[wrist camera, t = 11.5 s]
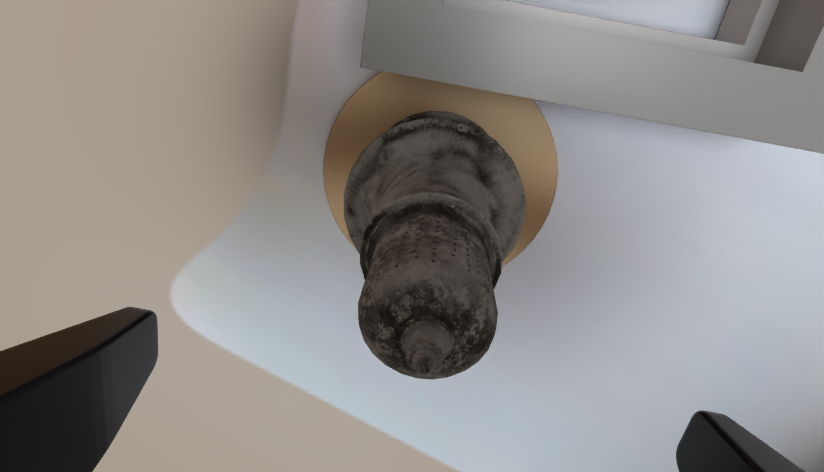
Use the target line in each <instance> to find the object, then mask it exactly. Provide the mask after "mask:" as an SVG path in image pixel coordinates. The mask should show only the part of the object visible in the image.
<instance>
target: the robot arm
mask: <svg viewBox="0 0 824 472" xmlns="http://www.w3.org/2000/svg"><path fill="white" fill-rule="evenodd" d="M157 327H158V326H157V316H156V314H155V313H154V312H153V311H151V310H146V309H140V308H134V307H127V308H124V309H121V310H118V311H115V312H112V313H109V314H107V315H104V316H101V317H98V318H95V319H92V320H89V321H86V322H83V323H81V324H77V325H75V326H72V327H69V328H66V329H63V330H60V331H58V332H54V333H51V334H49V335H46V336H43V337H40V338H37V339H34V340H32V341H28V342H25V343H23V344H20V345H17V346H14V347H11V348H8V349H5V350H3V351H0V472H92V471H93V470H94V468H95V467H96V465H97V464H98V463H99V461H100V460H101V458H102V457H103V455H104V454H105V452H106V451H107V449H108V448H109V446H110V444H111V443H112V441H113V439H114V438H115V436H116V434H117V432H118V431H119V429H120V427H121V426H122V424H123V422H124V420H125V418H126V417H127V415H128V413H129V411H130V409H131V408H132V406H133V404H134V402H135V401H136V399H137V397H138V395H139V393H140V391H141V390H142V388H143V386H144V385H145V383H146V381H147V379H148V377H149V376H150V374H151V372H152V370H153V369H154V367H155V364H156V361H157V357H158V328H157ZM676 460H677V465H678V469H679V472H805V471H803V470H802V469H801V468H799V467H798V466H796V465H795V464H794V463H792V462H791V461H789V460H788V459H787V458H785V457H784V456H782V455H781V454H780V453H778V452H777V451H775V450H774V449H773V448H771V447H770V446H768V445H767V444H765V443H764V442H763V441H761V440H760V439H758V438H757V437H756V436H754V435H753V434H751V433H750V432H749V431H747V430H746V429H744V428H743V427H742V426H740V425H739V424H737V423H736V422H735V421H733V420H732V419H730V418H729V417H727V416H726V415H723V414H719V413H714V412H708V411H698V412H696V413H695V414H694V415H693V416H692V418H691V420H690V422H689V424H688V426H687V428H686V430H685V432H684V434H683V436H682V438H681V440H680V442H679V444H678V447H677V451H676Z"/></svg>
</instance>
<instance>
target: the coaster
mask: <svg viewBox="0 0 824 472" xmlns="http://www.w3.org/2000/svg"><path fill="white" fill-rule="evenodd" d="M427 111H445V112H451V113H454V114H457V115H460V116H464V117H467V118H468V119H470V120H471V121H473V122H474V123H476V124H477V125H479V126H480V127H482V128H483V129H484V131H485V132H486V133H487V134H488V135H489V136H490V137H492V138H493V139H495V140H496V141H497V142H498V143H499V144H500V145H501V147H502V148H503V149H504V150H505V151H506V152H507V153H508V155H509V156H510V157H511V158H512V160H513V162H514V164H515V166H516V168H517V170H518V172H519V175H520V177H521V179H522V181H523V187H524V194H525V200H526V208H525V216H524V224H523V228H522V231H521V233H520V235H519V238H518V240H517V242H516V245H515V247H514V248H513V250H512V251H511V252H510V254H509V255H508V256H507V257H506V259H505V260H504V261H503V263H502V266H503V265H505V264H506V263H508V262H509V261H511V260H512V259H514V258H515V257H516V256H517V255H518V254H520V253H521V252H522V251H523V250H524V249H525V248H526V247H527V246H528V245H529V243H530V242H531V241H532V240H533V239H534V237H535V236H536V235H537V233H538V232H539V230H540V229H541V227H542V226H543V224H544V222H545V220H546V218H547V216H548V214H549V211H550V208H551V206H552V203H553V200H554V195H555V191H556V186H557V174H558V167H557V154H556V149H555V144H554V140H553V137H552V134H551V131H550V128H549V126H548V124H547V122H546V120H545V118H544V116H543V114H542V112H541V111H540V110H539V108H538V107H537V105H536V104H535V102H534V101H533V100H532V99H529V98H524V97H519V96H513V95H508V94H503V93H497V92H492V91H487V90H481V89H476V88H471V87H465V86H460V85H455V84H449V83H444V82H439V81H433V80H428V79H423V78H417V77H412V76H407V75H401V74H396V73H391V72H385V71H382V72H381V73H379V74H378V75H376V76H375V77H373V78H372V79H370V80H369V81H368V82H367V83H365V84H364V85H363V86H362V87H361V88H360V89H358V90H357V91H356V92H355V94H354V95H353V96H352V97H351V98H350V99H349V100H348V101H347V103H346V104H345V106H344V107H343V109H342V110H341V112H340V113H339V115H338V116H337V118H336V121H335V123H334V125H333V127H332V129H331V132H330V135H329V138H328V141H327V144H326V150H325V156H324V171H323V174H324V185H325V191H326V195H327V200H328V203H329V206H330V209H331V211H332V214H333V216H334V218H335V220H336V222H337V224H338V226H339V228H340V229H341V231H342V232H343V233H344V235H345V236H346V238H347V239H348V240H349V241H350V243H351V244H352V245H353V246H354V247H355V245H354V244H353V242H352V240H351V239H350V236H349V233H348V229H347V226H346V222H345V219H344V191H345V187H346V183H347V180H348V176H349V172H350V170H351V169H352V167H353V165H354V164H355V162H356V160H357V159H358V157H359V155H360V154H361V152H362V151H363V150H364V149H365V148H366V147H367V146H368V145H369V144H370V143H371V142H372V141H373V140H374V139H376V138H377V137H378V136H379V135H380V134H382V133H384V132H386V131H388V130H389V129H390V128H391V127H392V126H393V125H394V124H395V123H397V122H399V121H401V120H403V119H405V118H406V117H408V116H410V115H413V114H418V113H422V112H427ZM355 248H356V247H355Z"/></svg>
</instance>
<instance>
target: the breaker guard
mask: <svg viewBox="0 0 824 472" xmlns="http://www.w3.org/2000/svg"><path fill="white" fill-rule="evenodd" d="M360 67H364V68H369V69H375V70H380V71H385V72H391V73H396V74H401V75H407V76H412V77H417V78H423V79H428V80H433V81H439V82H444V83H449V84H455V85H460V86H465V87H471V88H476V89H481V90H487V91H492V92H497V93H503V94H508V95H513V96H519V97H524V98H529V99H535V100H540V101H545V102H551V103H556V104H561V105H567V106H572V107H577V108H583V109H588V110H593V111H599V112H604V113H609V114H615V115H620V116H625V117H631V118H636V119H641V120H647V121H652V122H657V123H663V124H668V125H673V126H679V127H684V128H689V129H695V130H700V131H705V132H711V133H716V134H722V135H727V136H732V137H738V138H743V139H748V140H754V141H759V142H764V143H770V144H775V145H780V146H786V147H791V148H796V149H802V150H807V151H812V152H818V153H823V154H824V0H730V2H729V5H728V7H727V10H726V13H725V15H724V18H723V21H722V23H721V26H720V28H719V31H718V34H717V36H716V39H715V40H712V39H707V38H702V37H696V36H691V35H686V34H680V33H675V32H670V31H664V30H659V29H654V28H649V27H643V26H638V25H633V24H627V23H622V22H617V21H611V20H606V19H601V18H595V17H590V16H585V15H580V14H574V13H569V12H564V11H558V10H553V9H548V8H542V7H537V6H532V5H527V4H521V3H516V2H511V1H505V0H368V7H367V15H366V23H365V31H364V39H363V47H362V54H361V62H360Z"/></svg>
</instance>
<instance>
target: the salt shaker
mask: <svg viewBox="0 0 824 472" xmlns="http://www.w3.org/2000/svg"><path fill="white" fill-rule="evenodd" d="M525 208H526V200H525V194H524V187H523V181H522V179H521V177H520V175H519V172H518V170H517V168H516V166H515V164H514V162H513V160H512V158H511V157H510V156H509V155H508V153H507V152H506V151H505V150H504V149H503V148H502V147H501V145H500V144H499V143H498V142H497V141H496V140H495V139H493V138H492V137H490V136H489V135H488V134H487V133H486V132H485V131H484V129H483V128H482V127H480V126H479V125H477V124H476V123H474V122H473V121H471V120H470V119H468V118H467V117H464V116H460V115H457V114H454V113H451V112H445V111H427V112H422V113H418V114H413V115H410V116H408V117H406V118H405V119H403V120H401V121H399V122H397V123H395V124H394V125H393V126H392V127H391V128H390V129H389V130H388V131H386V132H384V133H382V134H380V135H379V136H378V137H377V138H376V139H374V140H373V141H372V142H371V143H370V144H369V145H368V146H367V147H366V148H365V149H364V150H363V151H362V152H361V154H360V155H359V157H358V159H357V160H356V162H355V164H354V165H353V167H352V169H351V170H350V172H349V176H348V180H347V183H346V187H345V191H344V219H345V222H346V226H347V229H348V233H349V236H350V239H351V240H352V242H353V244H354V245H355V247H356V249H357V250H358V252H359V254H360V265H361V268H362V271H363V275H364V278H365V283H364V286H363V289H362V293H361V296H360V299H359V302H358V318H359V326H360V329H361V332H362V336H363V339H364V341H365V343H366V344H367V346H368V347H369V349H370V350H371V352H372V353H373V354H374V355H375V356H376V357H377V358H378V359H379V360H380V361H382V362H383V363H384V364H385V365H387V366H388V367H390V368H392V369H394V370H396V371H398V372H399V373H401V374H404V375H408V376H411V377H415V378H421V379H438V378H445V377H450V376H452V375H455V374H458V373H460V372H463V371H465V370H467V369H468V368H470V367H471V366H473V365H474V364H475V363H477V362H478V361H479V360H480V359H481V358H482V356H483V355H484V354H485V353H486V352H487V351H488V349H489V347H490V344H491V342H492V340H493V338H494V335H495V331H496V324H497V314H498V312H497V307H496V301H495V296H494V291H493V290H494V288H495V286H496V284H497V281H498V279H499V276H500V274H501V267H502V263H503V261H504V260H505V259H506V257H507V256H508V255H509V254H510V252H511V251H512V250H513V248H514V247H515V245H516V242H517V240H518V238H519V235H520V233H521V231H522V228H523V224H524V216H525Z"/></svg>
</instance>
